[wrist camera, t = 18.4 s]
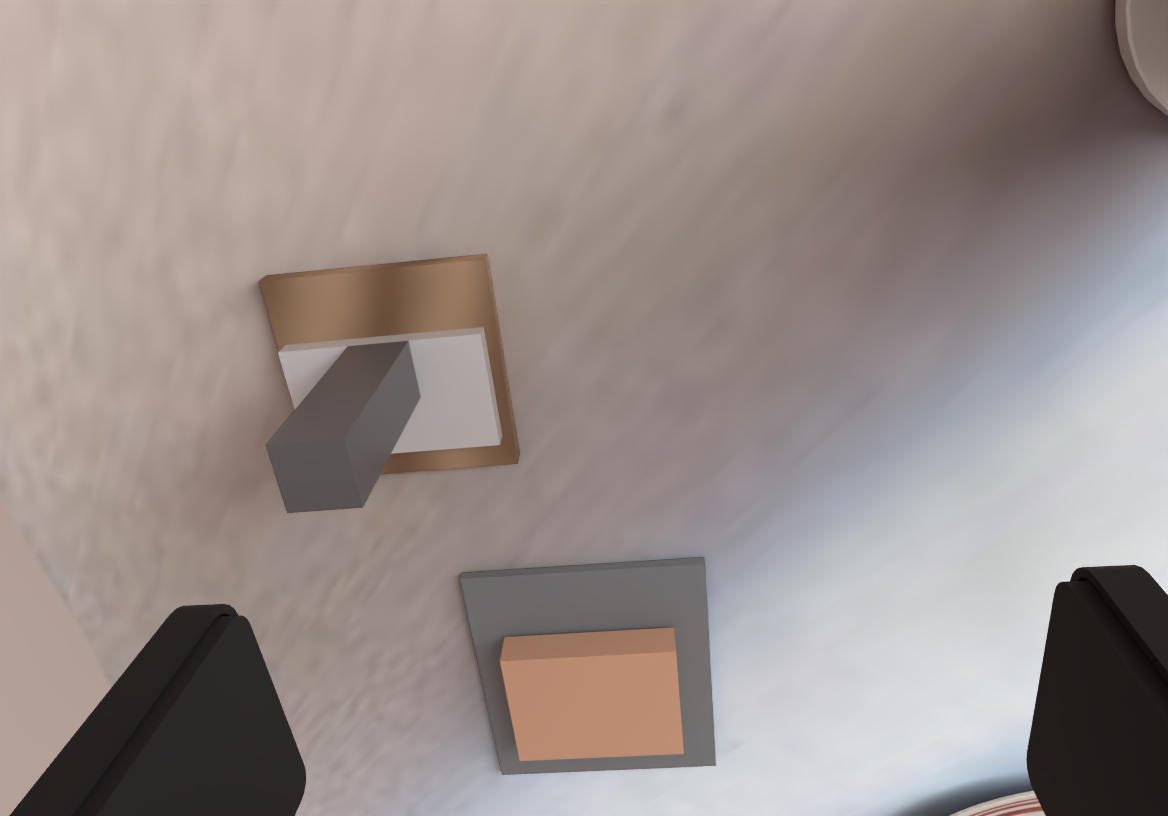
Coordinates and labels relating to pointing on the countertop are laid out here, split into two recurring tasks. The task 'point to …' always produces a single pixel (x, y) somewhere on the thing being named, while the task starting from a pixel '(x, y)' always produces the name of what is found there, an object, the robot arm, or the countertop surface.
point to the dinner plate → (1006, 806)
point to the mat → (596, 606)
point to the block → (593, 694)
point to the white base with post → (377, 410)
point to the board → (400, 327)
